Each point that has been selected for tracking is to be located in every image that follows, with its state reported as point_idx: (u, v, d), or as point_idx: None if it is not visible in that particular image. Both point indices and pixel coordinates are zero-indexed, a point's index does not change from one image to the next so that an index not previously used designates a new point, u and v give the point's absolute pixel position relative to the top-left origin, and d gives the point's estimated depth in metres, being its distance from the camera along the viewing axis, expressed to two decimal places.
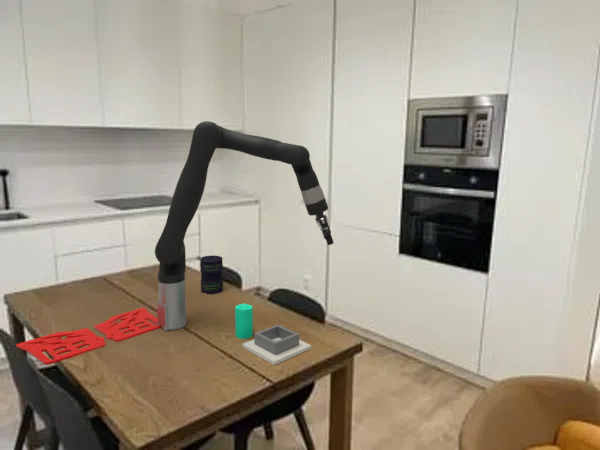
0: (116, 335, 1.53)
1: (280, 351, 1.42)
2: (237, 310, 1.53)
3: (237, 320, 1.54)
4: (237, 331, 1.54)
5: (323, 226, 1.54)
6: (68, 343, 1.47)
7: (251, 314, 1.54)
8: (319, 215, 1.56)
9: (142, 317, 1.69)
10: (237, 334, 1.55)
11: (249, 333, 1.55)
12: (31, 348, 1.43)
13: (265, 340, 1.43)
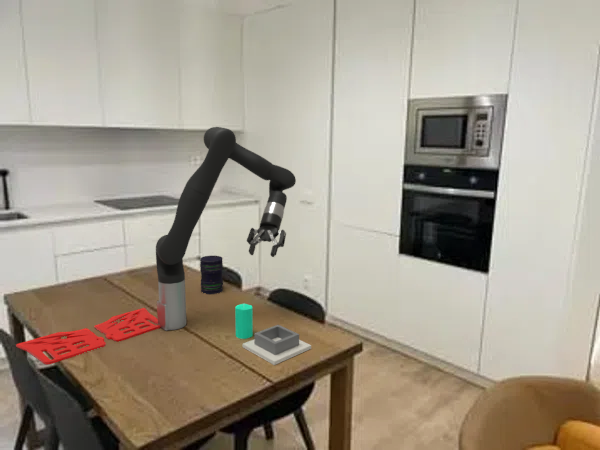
0: (116, 335, 1.53)
1: (280, 351, 1.42)
2: (237, 310, 1.53)
3: (237, 320, 1.54)
4: (237, 331, 1.54)
5: (283, 237, 1.64)
6: (68, 343, 1.47)
7: (251, 314, 1.54)
8: (277, 228, 1.66)
9: (142, 317, 1.69)
10: (237, 334, 1.55)
11: (249, 333, 1.55)
12: (31, 348, 1.43)
13: (265, 340, 1.43)
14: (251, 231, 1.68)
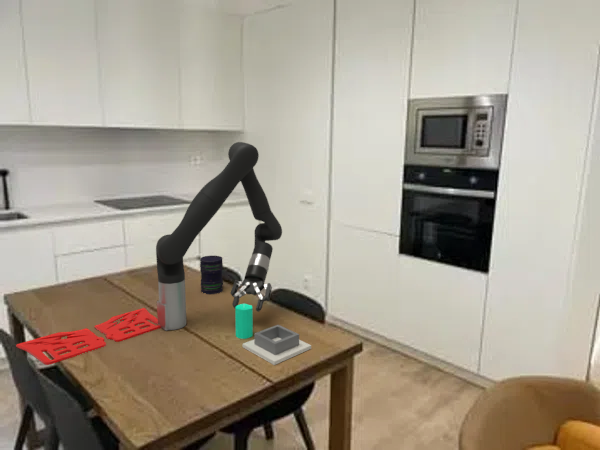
0: (116, 335, 1.53)
1: (280, 351, 1.42)
2: (237, 310, 1.53)
3: (237, 320, 1.54)
4: (237, 331, 1.54)
5: (269, 291, 1.59)
6: (68, 343, 1.47)
7: (251, 314, 1.54)
8: (263, 281, 1.62)
9: (142, 317, 1.68)
10: (237, 334, 1.55)
11: (249, 333, 1.55)
12: (31, 348, 1.43)
13: (265, 340, 1.43)
14: (235, 283, 1.62)
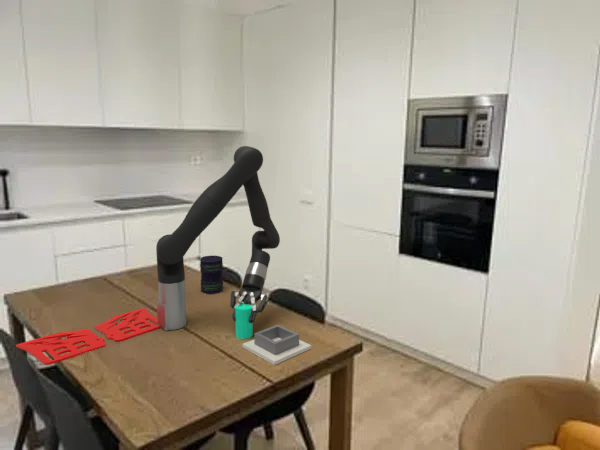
0: (116, 335, 1.53)
1: (280, 351, 1.42)
2: (237, 310, 1.53)
3: (237, 320, 1.54)
4: (237, 331, 1.54)
5: (264, 303, 1.56)
6: (68, 343, 1.47)
7: None
8: (260, 291, 1.59)
9: (142, 317, 1.68)
10: (237, 334, 1.55)
11: (249, 333, 1.55)
12: (31, 348, 1.43)
13: (265, 340, 1.43)
14: (232, 295, 1.59)
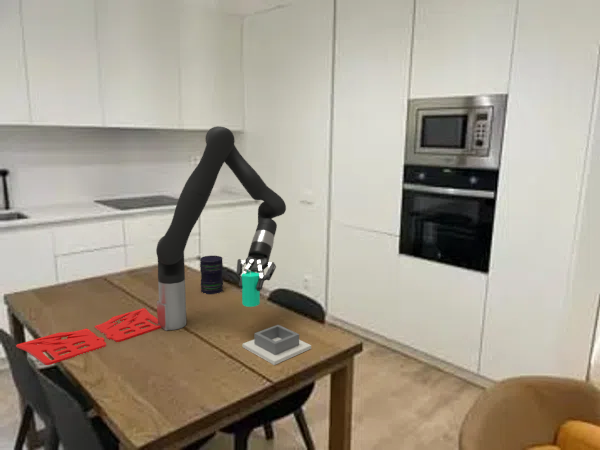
0: (116, 335, 1.53)
1: (280, 351, 1.42)
2: (244, 277, 1.49)
3: (244, 288, 1.50)
4: (244, 299, 1.50)
5: (272, 270, 1.52)
6: (68, 343, 1.47)
7: None
8: (268, 258, 1.55)
9: (142, 317, 1.68)
10: (244, 302, 1.51)
11: (256, 301, 1.51)
12: (31, 348, 1.43)
13: (265, 340, 1.43)
14: (239, 263, 1.55)
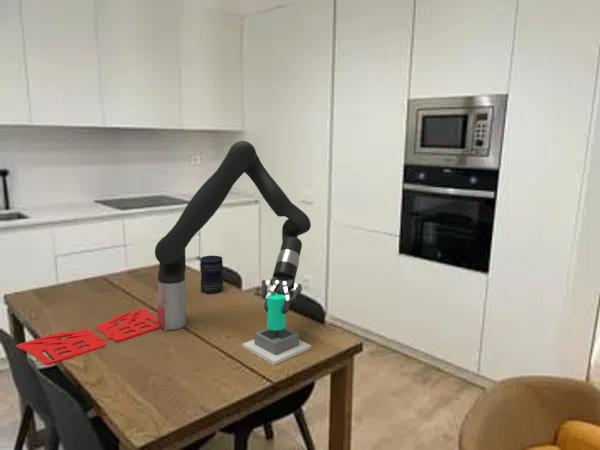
0: (117, 335, 1.53)
1: (280, 351, 1.42)
2: (269, 300, 1.42)
3: (269, 310, 1.43)
4: (269, 322, 1.44)
5: (298, 292, 1.45)
6: (68, 343, 1.47)
7: None
8: (293, 279, 1.48)
9: (142, 317, 1.68)
10: (269, 326, 1.44)
11: (282, 324, 1.44)
12: (31, 349, 1.43)
13: (265, 340, 1.43)
14: (263, 284, 1.49)
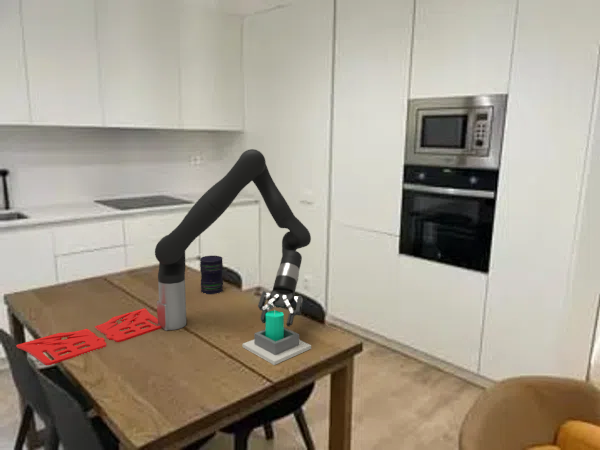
0: (117, 336, 1.53)
1: (280, 351, 1.42)
2: (268, 317, 1.44)
3: (268, 328, 1.45)
4: None
5: (300, 304, 1.46)
6: (68, 343, 1.47)
7: (282, 321, 1.46)
8: (293, 293, 1.49)
9: (143, 318, 1.68)
10: None
11: None
12: (31, 349, 1.43)
13: (265, 340, 1.43)
14: (263, 295, 1.50)
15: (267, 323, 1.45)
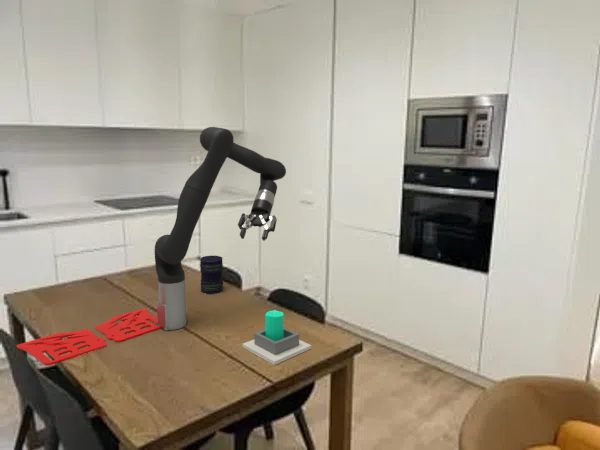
0: (117, 336, 1.53)
1: (280, 351, 1.42)
2: (268, 317, 1.44)
3: (268, 328, 1.45)
4: None
5: (274, 222, 1.69)
6: (68, 343, 1.47)
7: (282, 321, 1.46)
8: (268, 214, 1.72)
9: (143, 318, 1.68)
10: None
11: None
12: (32, 349, 1.43)
13: (265, 340, 1.43)
14: (242, 216, 1.73)
15: (267, 323, 1.45)
